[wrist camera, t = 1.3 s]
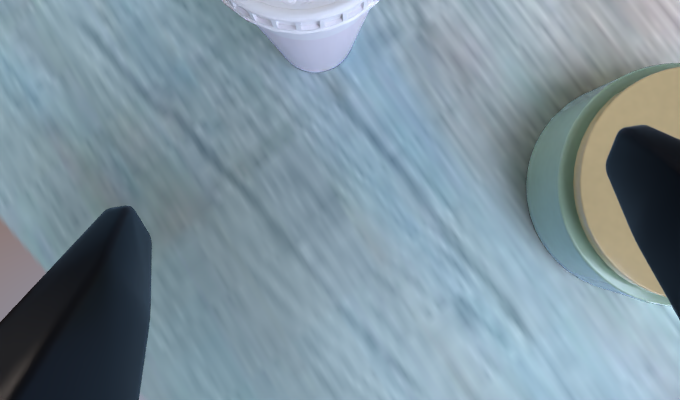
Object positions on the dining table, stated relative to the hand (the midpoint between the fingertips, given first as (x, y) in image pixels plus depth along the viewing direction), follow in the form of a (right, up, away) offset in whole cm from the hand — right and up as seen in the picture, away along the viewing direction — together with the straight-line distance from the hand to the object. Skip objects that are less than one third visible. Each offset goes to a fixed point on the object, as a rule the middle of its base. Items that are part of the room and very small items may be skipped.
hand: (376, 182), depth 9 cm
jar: (+13, 0, +14) cm, 19 cm away
